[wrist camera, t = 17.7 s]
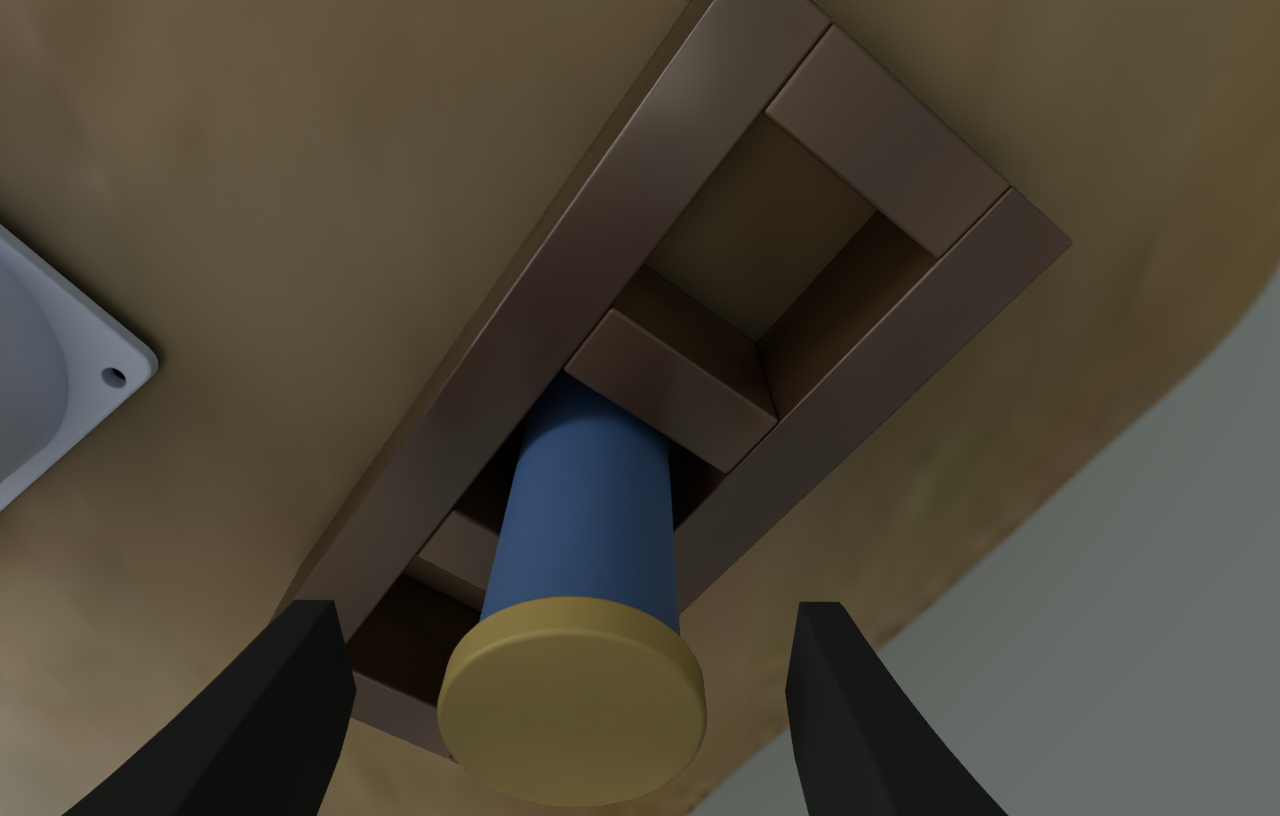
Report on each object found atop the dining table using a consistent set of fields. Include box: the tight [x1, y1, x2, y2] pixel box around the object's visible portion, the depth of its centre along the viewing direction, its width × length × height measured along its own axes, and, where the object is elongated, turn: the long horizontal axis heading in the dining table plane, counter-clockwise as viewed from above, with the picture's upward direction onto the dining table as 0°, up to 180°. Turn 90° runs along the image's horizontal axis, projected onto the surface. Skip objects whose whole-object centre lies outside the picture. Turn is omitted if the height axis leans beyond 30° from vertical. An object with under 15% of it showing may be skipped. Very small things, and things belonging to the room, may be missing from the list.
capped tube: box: [437, 366, 707, 807], centre depth 15 cm, size 4×4×9 cm
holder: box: [267, 0, 1073, 764], centre depth 17 cm, size 7×18×4 cm, turn 143°
